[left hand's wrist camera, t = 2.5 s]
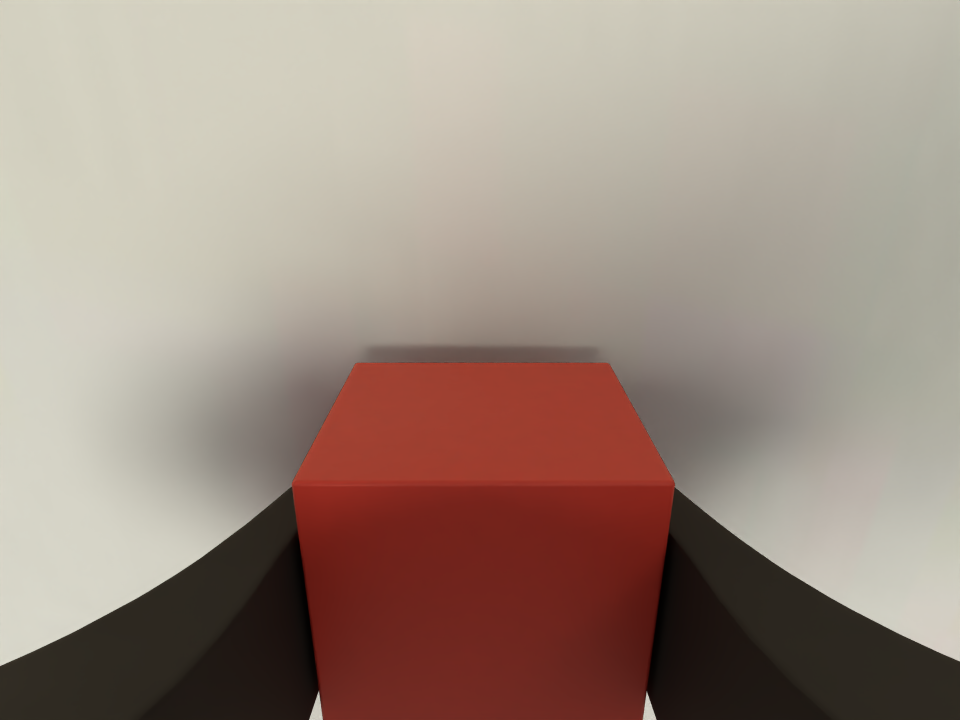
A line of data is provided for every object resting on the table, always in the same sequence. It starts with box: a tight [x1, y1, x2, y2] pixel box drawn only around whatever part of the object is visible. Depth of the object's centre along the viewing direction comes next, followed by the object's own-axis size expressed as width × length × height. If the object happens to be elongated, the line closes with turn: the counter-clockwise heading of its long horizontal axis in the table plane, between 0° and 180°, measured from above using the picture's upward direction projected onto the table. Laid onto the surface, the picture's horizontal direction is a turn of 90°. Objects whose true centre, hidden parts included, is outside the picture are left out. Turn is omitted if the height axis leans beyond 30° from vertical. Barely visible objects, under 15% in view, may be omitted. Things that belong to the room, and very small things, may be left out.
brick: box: [292, 363, 675, 720], centre depth 11 cm, size 5×5×4 cm
